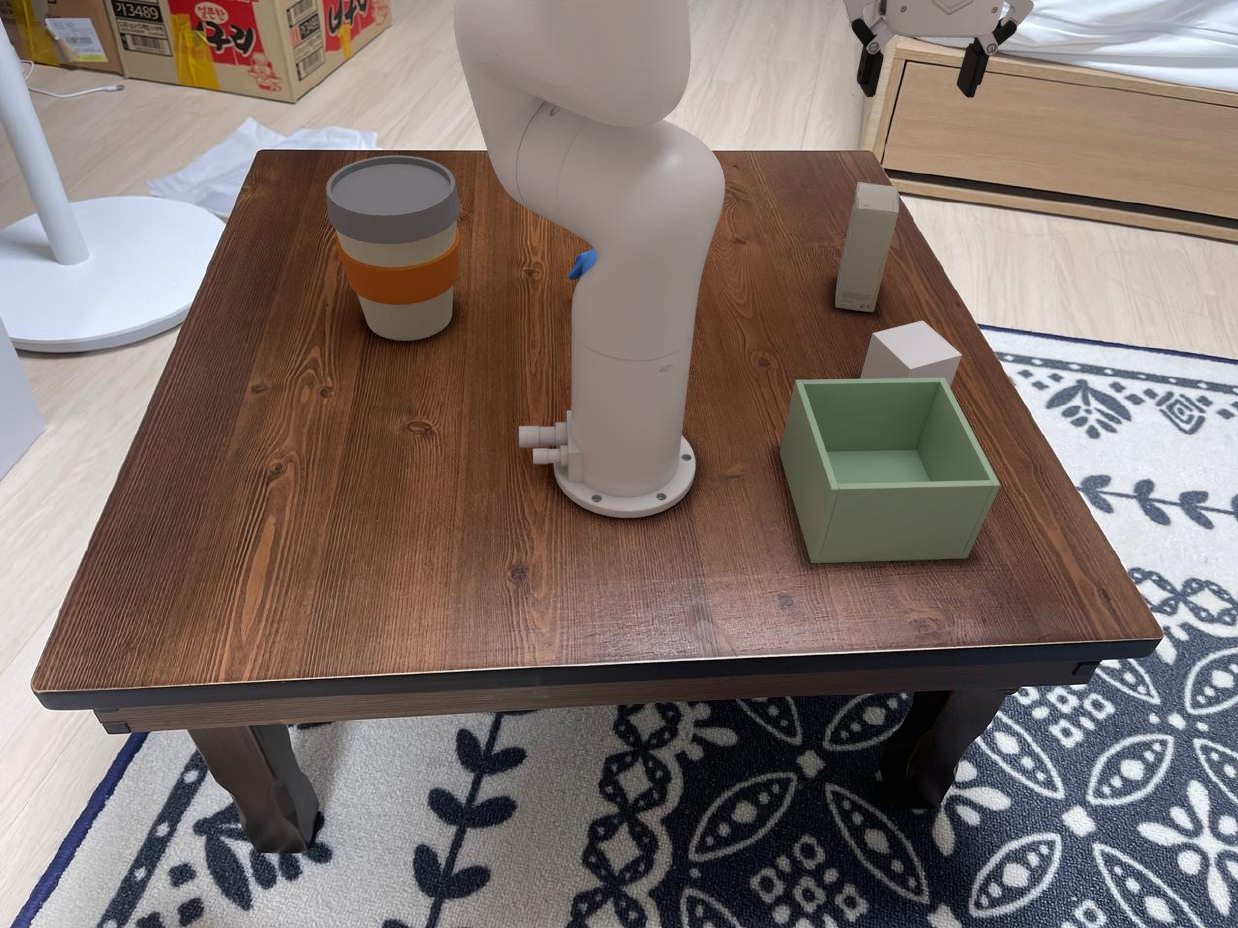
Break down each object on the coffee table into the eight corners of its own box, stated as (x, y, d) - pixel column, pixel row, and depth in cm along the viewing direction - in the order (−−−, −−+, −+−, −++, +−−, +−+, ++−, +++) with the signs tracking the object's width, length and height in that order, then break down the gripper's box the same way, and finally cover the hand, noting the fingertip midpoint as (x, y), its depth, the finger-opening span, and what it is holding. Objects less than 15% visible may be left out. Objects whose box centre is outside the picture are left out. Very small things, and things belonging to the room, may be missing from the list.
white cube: (907, 368, 96) (923, 320, 91) (944, 404, 92) (962, 354, 88) (858, 382, 94) (872, 333, 90) (894, 418, 90) (910, 368, 86)
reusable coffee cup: (324, 314, 98) (296, 182, 88) (419, 270, 105) (403, 142, 95) (398, 367, 92) (377, 232, 82) (493, 316, 99) (485, 185, 89)
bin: (810, 563, 76) (831, 489, 70) (779, 453, 86) (795, 379, 80) (967, 558, 77) (1000, 485, 71) (918, 450, 87) (944, 377, 81)
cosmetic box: (873, 314, 102) (900, 214, 94) (832, 308, 103) (856, 208, 95) (873, 284, 107) (899, 185, 99) (834, 278, 107) (857, 180, 99)
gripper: (878, -103, 74) (836, 108, 86) (1087, -99, 76) (1017, 109, 88) (855, -126, 80) (818, 76, 92) (1050, -122, 81) (989, 77, 93)
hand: (915, 91), depth 90 cm, fingers open, 9 cm apart
